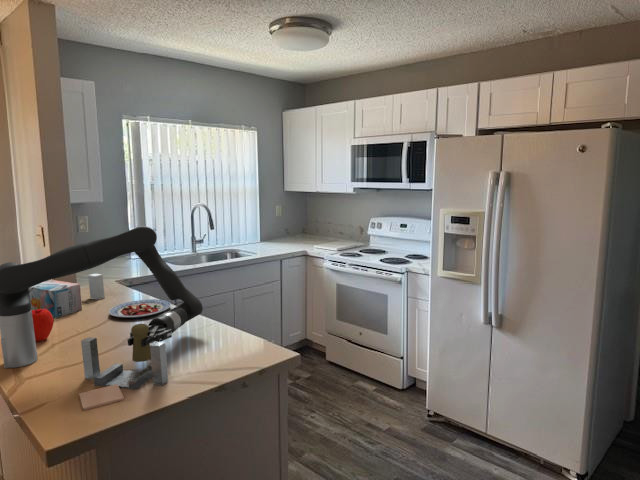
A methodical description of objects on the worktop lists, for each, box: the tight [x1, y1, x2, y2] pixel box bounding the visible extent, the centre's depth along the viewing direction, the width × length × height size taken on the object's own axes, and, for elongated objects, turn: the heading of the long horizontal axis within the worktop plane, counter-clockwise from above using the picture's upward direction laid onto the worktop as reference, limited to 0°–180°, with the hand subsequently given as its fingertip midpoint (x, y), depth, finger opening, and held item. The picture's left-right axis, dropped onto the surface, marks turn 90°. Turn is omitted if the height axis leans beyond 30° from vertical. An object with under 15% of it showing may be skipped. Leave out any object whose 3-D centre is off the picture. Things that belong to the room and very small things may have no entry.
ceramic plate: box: [108, 299, 172, 319], centre depth 206 cm, size 26×26×3 cm
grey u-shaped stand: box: [80, 336, 169, 390], centre depth 138 cm, size 10×26×12 cm, turn 78°
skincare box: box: [87, 273, 105, 301], centre depth 230 cm, size 6×4×12 cm
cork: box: [130, 323, 151, 363], centre depth 146 cm, size 6×6×11 cm
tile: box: [78, 384, 125, 411], centre depth 128 cm, size 10×10×1 cm
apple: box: [32, 309, 54, 342], centre depth 173 cm, size 10×10×12 cm
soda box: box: [29, 279, 83, 319], centre depth 213 cm, size 41×14×13 cm, turn 64°
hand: (135, 343), depth 143 cm, fingers closed on cork, 4 cm apart
